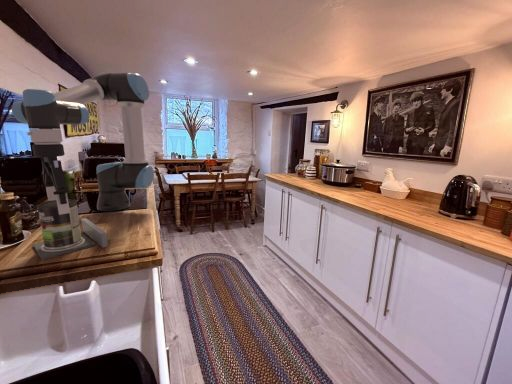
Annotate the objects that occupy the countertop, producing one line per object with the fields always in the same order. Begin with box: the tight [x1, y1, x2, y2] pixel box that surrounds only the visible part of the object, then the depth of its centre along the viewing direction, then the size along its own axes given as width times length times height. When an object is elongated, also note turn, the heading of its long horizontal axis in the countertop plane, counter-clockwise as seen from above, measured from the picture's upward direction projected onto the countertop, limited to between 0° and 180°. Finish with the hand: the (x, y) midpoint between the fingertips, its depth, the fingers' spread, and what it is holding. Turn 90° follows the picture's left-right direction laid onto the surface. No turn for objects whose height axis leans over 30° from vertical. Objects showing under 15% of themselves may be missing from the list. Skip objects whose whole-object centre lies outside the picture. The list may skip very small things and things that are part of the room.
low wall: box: [80, 217, 109, 249], centre depth 91 cm, size 22×2×5 cm, turn 49°
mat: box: [32, 232, 96, 261], centre depth 84 cm, size 14×14×1 cm
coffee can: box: [36, 198, 82, 250], centre depth 83 cm, size 10×10×14 cm
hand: (59, 209), depth 82 cm, fingers open, 13 cm apart
